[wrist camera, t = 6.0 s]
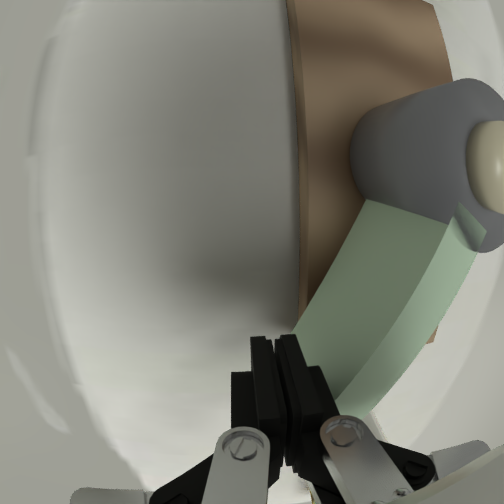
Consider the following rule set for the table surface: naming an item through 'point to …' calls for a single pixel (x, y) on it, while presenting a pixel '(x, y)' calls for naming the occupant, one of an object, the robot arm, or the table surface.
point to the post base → (349, 105)
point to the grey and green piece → (407, 236)
